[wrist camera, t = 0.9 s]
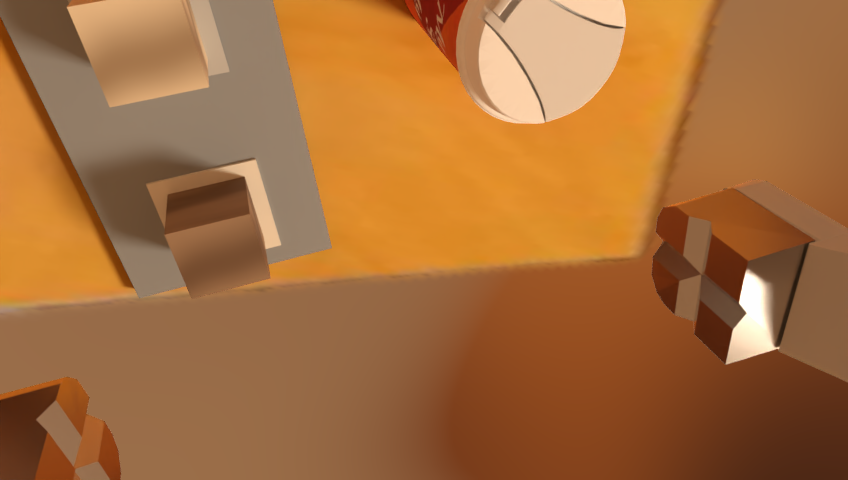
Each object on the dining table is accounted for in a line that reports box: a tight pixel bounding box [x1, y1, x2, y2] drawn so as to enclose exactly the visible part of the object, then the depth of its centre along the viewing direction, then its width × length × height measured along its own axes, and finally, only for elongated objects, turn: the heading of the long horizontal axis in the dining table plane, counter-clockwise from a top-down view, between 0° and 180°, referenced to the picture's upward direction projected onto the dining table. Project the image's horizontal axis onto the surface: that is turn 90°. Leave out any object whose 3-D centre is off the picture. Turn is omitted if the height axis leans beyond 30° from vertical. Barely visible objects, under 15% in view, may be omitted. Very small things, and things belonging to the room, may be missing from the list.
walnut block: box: [164, 177, 270, 299], centre depth 40 cm, size 5×5×5 cm
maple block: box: [67, 0, 209, 107], centre depth 33 cm, size 5×5×5 cm
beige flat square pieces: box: [0, 0, 332, 298], centre depth 39 cm, size 22×14×1 cm, turn 6°
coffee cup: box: [405, 0, 626, 124], centre depth 33 cm, size 8×8×15 cm
